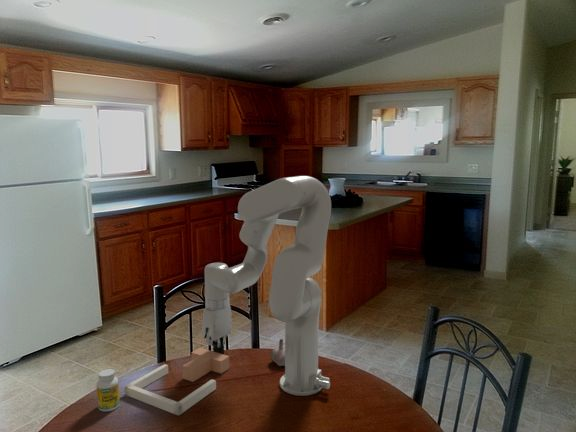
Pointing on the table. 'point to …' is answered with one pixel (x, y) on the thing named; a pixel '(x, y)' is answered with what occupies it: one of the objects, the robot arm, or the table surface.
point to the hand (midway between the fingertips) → (218, 356)
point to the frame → (161, 402)
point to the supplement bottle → (108, 390)
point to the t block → (205, 364)
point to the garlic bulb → (278, 354)
